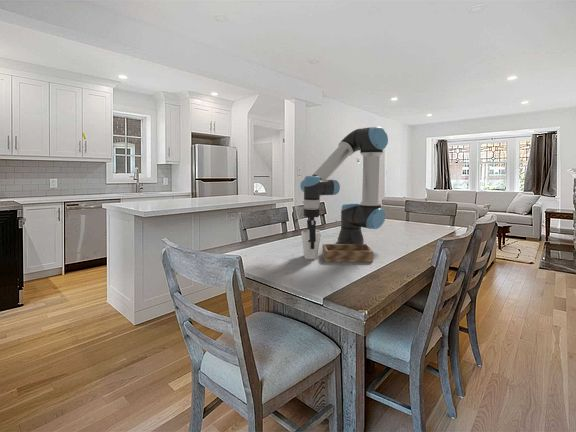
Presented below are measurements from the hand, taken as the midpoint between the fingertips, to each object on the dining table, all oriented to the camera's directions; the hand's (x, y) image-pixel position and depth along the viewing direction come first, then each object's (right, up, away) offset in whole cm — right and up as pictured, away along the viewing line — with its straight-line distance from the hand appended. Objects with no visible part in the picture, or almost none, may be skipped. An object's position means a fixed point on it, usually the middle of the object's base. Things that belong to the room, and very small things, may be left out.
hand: (310, 252), depth 162 cm
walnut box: (+17, -3, +1) cm, 18 cm away
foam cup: (0, -3, 0) cm, 3 cm away
